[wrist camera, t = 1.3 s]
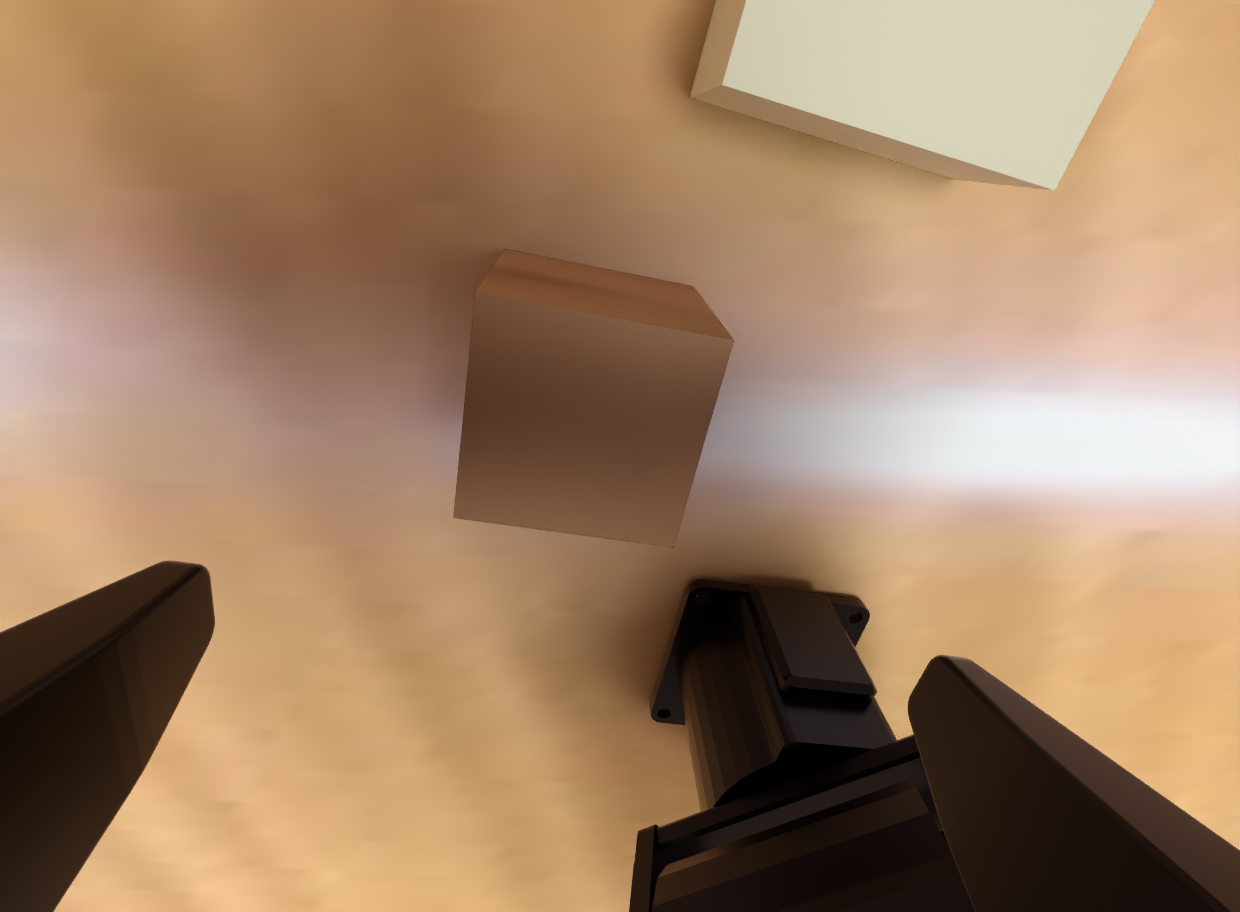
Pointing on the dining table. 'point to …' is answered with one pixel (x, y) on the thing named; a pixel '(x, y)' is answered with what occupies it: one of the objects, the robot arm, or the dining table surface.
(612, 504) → the walnut cube
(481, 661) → the dining table surface
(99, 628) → the robot arm
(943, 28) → the base block
